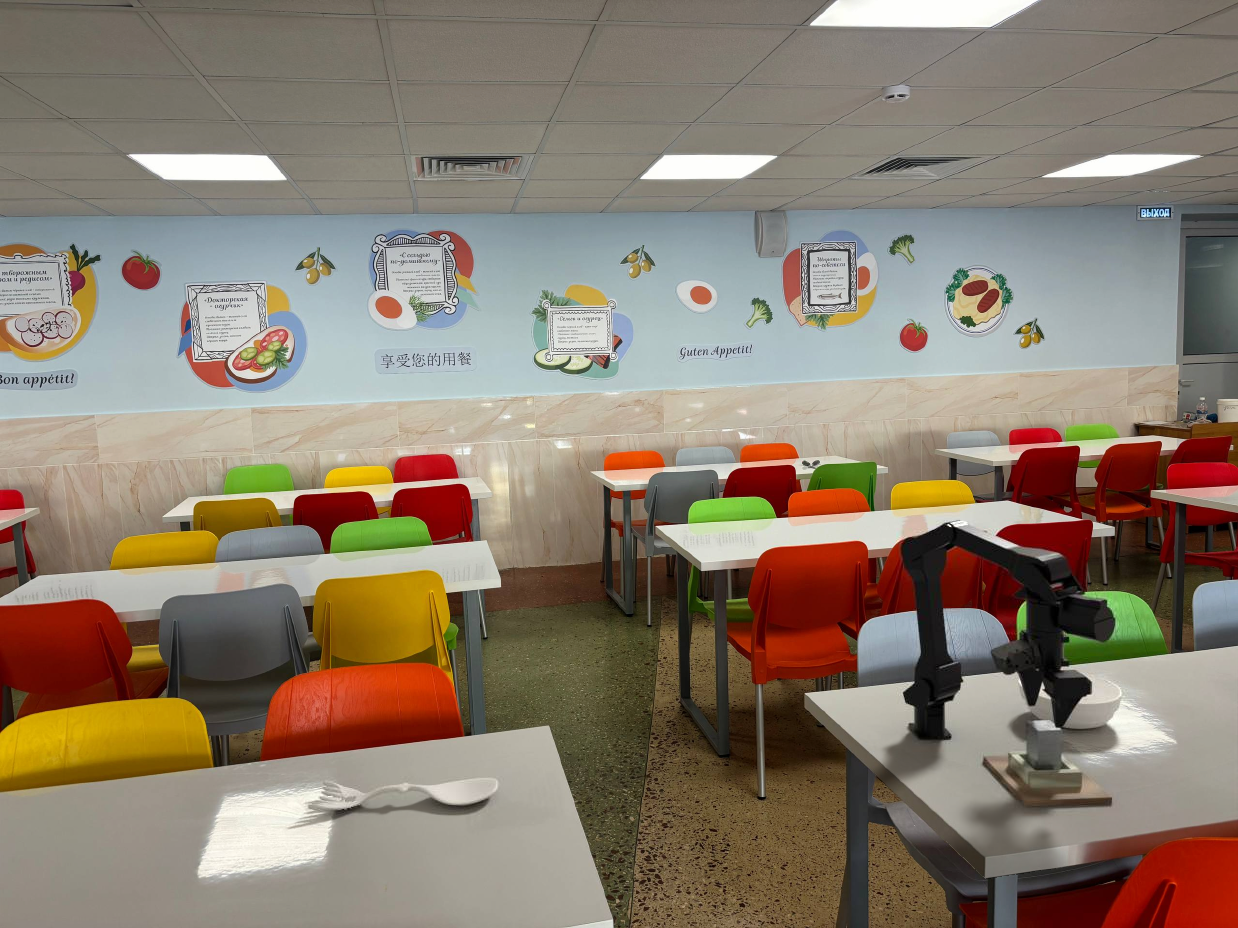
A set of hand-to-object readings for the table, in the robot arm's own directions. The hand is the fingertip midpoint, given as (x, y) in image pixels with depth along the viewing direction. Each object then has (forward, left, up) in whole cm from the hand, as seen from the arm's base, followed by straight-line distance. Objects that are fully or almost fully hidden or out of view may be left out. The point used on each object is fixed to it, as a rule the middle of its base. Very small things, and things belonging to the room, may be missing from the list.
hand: (1044, 716), depth 140 cm
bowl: (-24, +17, -12) cm, 32 cm away
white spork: (-2, -111, -12) cm, 112 cm away
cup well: (0, 0, -12) cm, 12 cm away
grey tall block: (0, 0, -11) cm, 11 cm away
